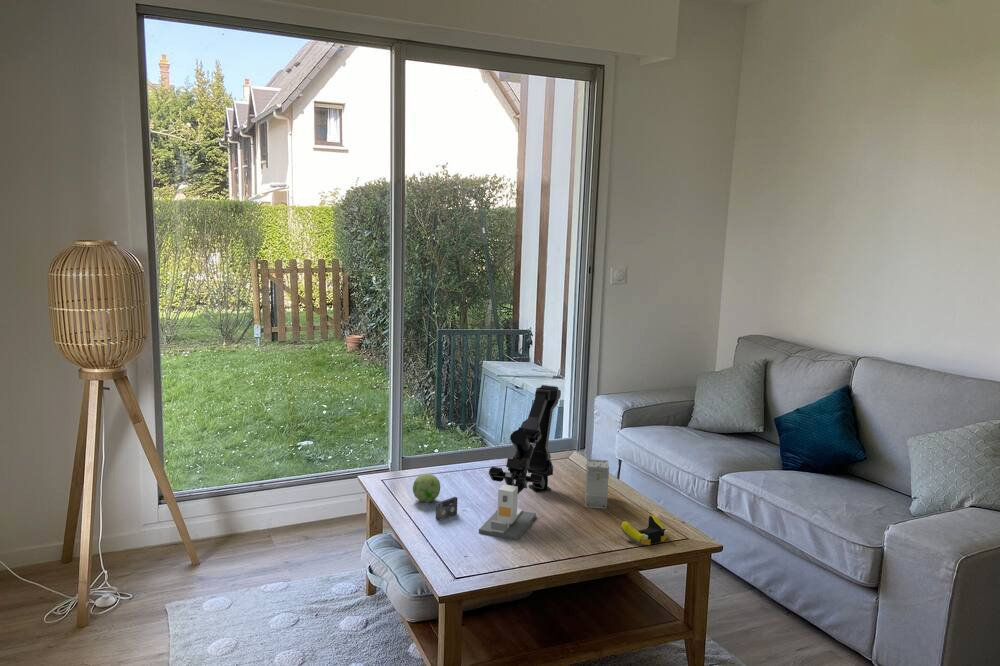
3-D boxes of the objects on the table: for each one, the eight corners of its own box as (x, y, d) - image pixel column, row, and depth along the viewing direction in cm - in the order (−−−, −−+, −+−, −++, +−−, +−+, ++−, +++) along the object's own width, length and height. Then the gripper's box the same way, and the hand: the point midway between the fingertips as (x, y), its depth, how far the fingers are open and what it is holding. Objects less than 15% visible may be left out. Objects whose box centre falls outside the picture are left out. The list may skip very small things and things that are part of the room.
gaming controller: (617, 537, 232) (638, 549, 224) (618, 520, 231) (639, 533, 223) (652, 528, 240) (674, 540, 231) (653, 512, 239) (675, 524, 230)
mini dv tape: (454, 512, 247) (454, 496, 246) (457, 514, 245) (457, 497, 245) (435, 519, 241) (435, 502, 240) (438, 520, 240) (438, 503, 239)
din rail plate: (500, 510, 250) (500, 498, 249) (535, 516, 246) (536, 504, 245) (478, 532, 231) (479, 519, 231) (517, 540, 227) (517, 526, 226)
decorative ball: (443, 504, 253) (444, 477, 251) (416, 508, 249) (416, 480, 248) (435, 494, 262) (436, 468, 260) (409, 497, 258) (409, 470, 257)
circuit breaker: (604, 493, 269) (607, 454, 266) (606, 508, 255) (609, 467, 252) (584, 492, 269) (586, 453, 267) (585, 506, 255) (587, 466, 253)
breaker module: (502, 517, 240) (503, 484, 238) (516, 520, 238) (517, 486, 237) (496, 524, 235) (497, 490, 233) (510, 526, 233) (512, 492, 231)
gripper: (491, 443, 244) (478, 485, 235) (544, 451, 238) (532, 494, 229) (498, 459, 253) (486, 500, 244) (549, 467, 246) (538, 509, 238)
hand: (510, 500), depth 238 cm, fingers closed, pressing on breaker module
